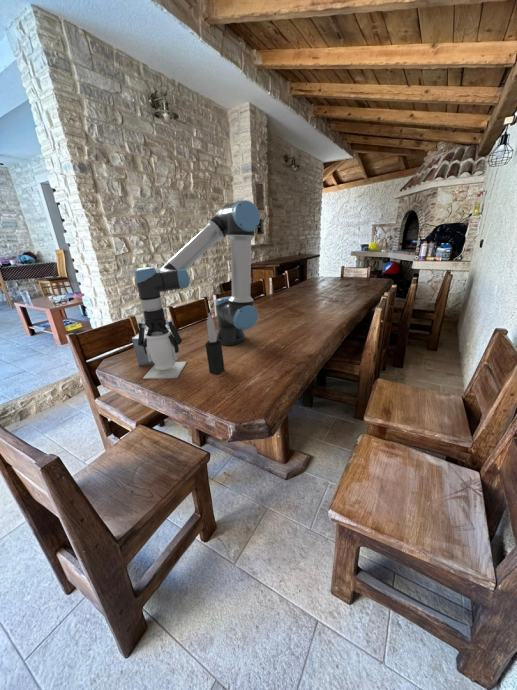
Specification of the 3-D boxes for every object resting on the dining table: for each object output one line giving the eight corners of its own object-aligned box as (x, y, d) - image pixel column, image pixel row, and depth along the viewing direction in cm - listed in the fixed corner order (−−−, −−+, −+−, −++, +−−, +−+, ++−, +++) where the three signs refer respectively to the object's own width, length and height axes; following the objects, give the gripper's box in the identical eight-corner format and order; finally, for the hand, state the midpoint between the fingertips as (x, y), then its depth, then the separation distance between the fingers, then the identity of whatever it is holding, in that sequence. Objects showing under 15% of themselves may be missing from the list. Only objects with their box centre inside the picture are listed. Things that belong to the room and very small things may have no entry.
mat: (186, 362, 124) (186, 361, 124) (176, 378, 111) (176, 376, 111) (156, 363, 125) (156, 362, 125) (143, 379, 112) (142, 377, 112)
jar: (170, 372, 111) (162, 337, 106) (147, 371, 114) (139, 337, 108) (181, 360, 121) (175, 328, 115) (160, 360, 123) (153, 328, 118)
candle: (217, 374, 112) (209, 315, 102) (208, 372, 114) (199, 314, 105) (225, 369, 115) (218, 311, 106) (216, 367, 118) (208, 310, 109)
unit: (163, 355, 133) (157, 330, 129) (154, 364, 124) (148, 338, 119) (147, 356, 134) (141, 331, 129) (138, 365, 125) (131, 338, 120)
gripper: (184, 304, 111) (192, 355, 119) (129, 307, 112) (141, 357, 121) (178, 309, 104) (187, 362, 112) (119, 312, 105) (133, 364, 114)
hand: (163, 359), depth 116 cm, fingers closed on jar, 10 cm apart
